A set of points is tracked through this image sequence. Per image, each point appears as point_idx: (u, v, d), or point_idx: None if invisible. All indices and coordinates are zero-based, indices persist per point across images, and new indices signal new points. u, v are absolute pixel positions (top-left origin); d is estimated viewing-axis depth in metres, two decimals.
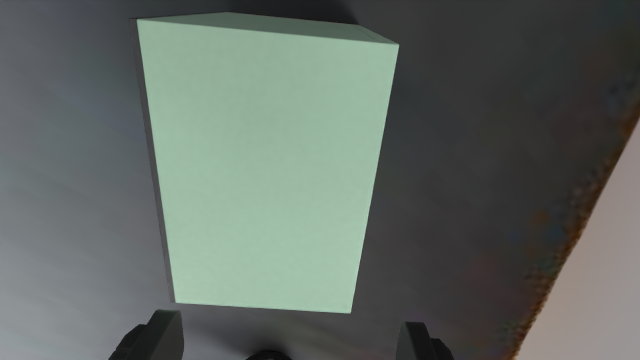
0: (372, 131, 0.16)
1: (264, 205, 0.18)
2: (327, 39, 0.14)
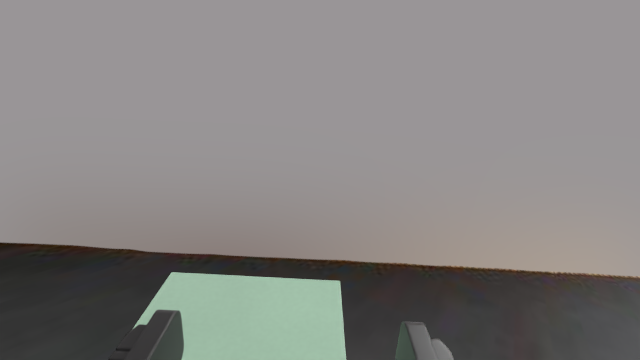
0: (211, 277, 0.32)
1: (249, 318, 0.27)
2: None
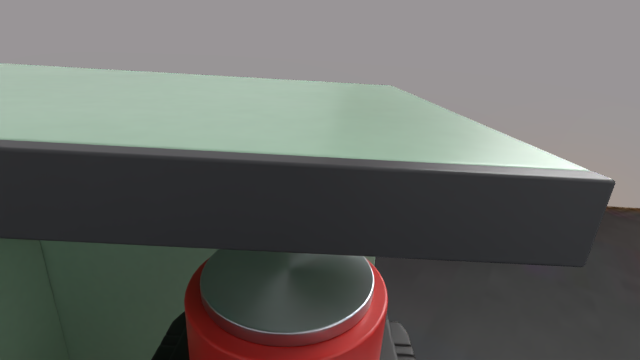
0: (84, 69, 0.13)
1: (136, 87, 0.08)
2: None
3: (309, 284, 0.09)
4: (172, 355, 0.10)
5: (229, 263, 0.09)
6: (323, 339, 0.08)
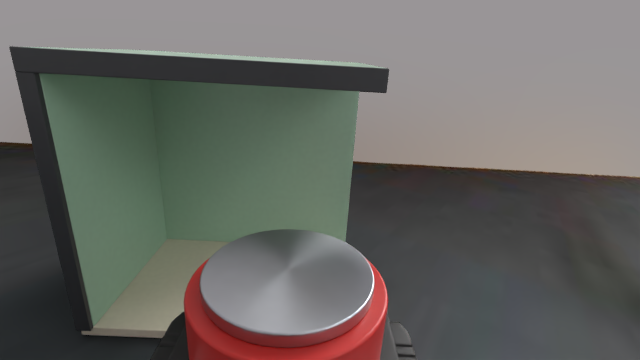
0: None
1: (241, 57, 0.20)
2: None
3: (309, 285, 0.09)
4: (171, 355, 0.10)
5: (229, 264, 0.09)
6: (322, 339, 0.08)
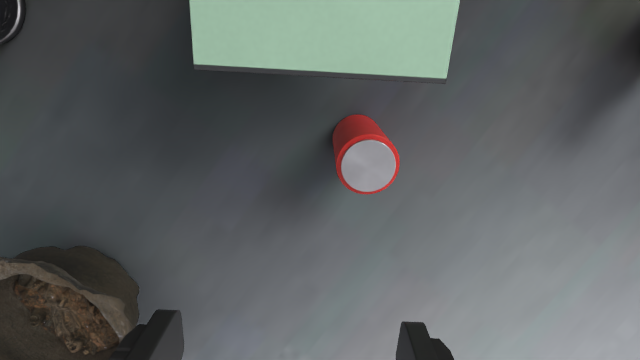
0: None
1: None
2: None
3: (374, 174, 0.29)
4: None
5: (349, 164, 0.29)
6: None
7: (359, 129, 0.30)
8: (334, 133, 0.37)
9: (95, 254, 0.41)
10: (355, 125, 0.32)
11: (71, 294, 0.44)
